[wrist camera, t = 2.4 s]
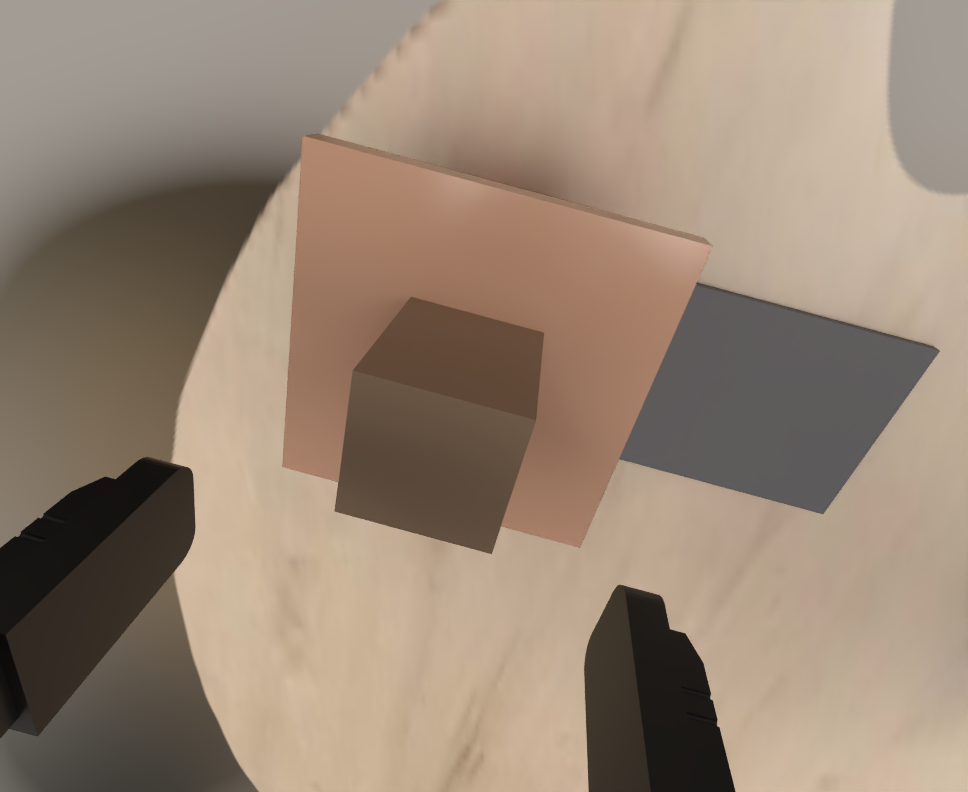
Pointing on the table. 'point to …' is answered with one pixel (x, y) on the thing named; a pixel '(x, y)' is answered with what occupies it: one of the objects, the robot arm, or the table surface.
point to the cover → (470, 344)
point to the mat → (771, 398)
